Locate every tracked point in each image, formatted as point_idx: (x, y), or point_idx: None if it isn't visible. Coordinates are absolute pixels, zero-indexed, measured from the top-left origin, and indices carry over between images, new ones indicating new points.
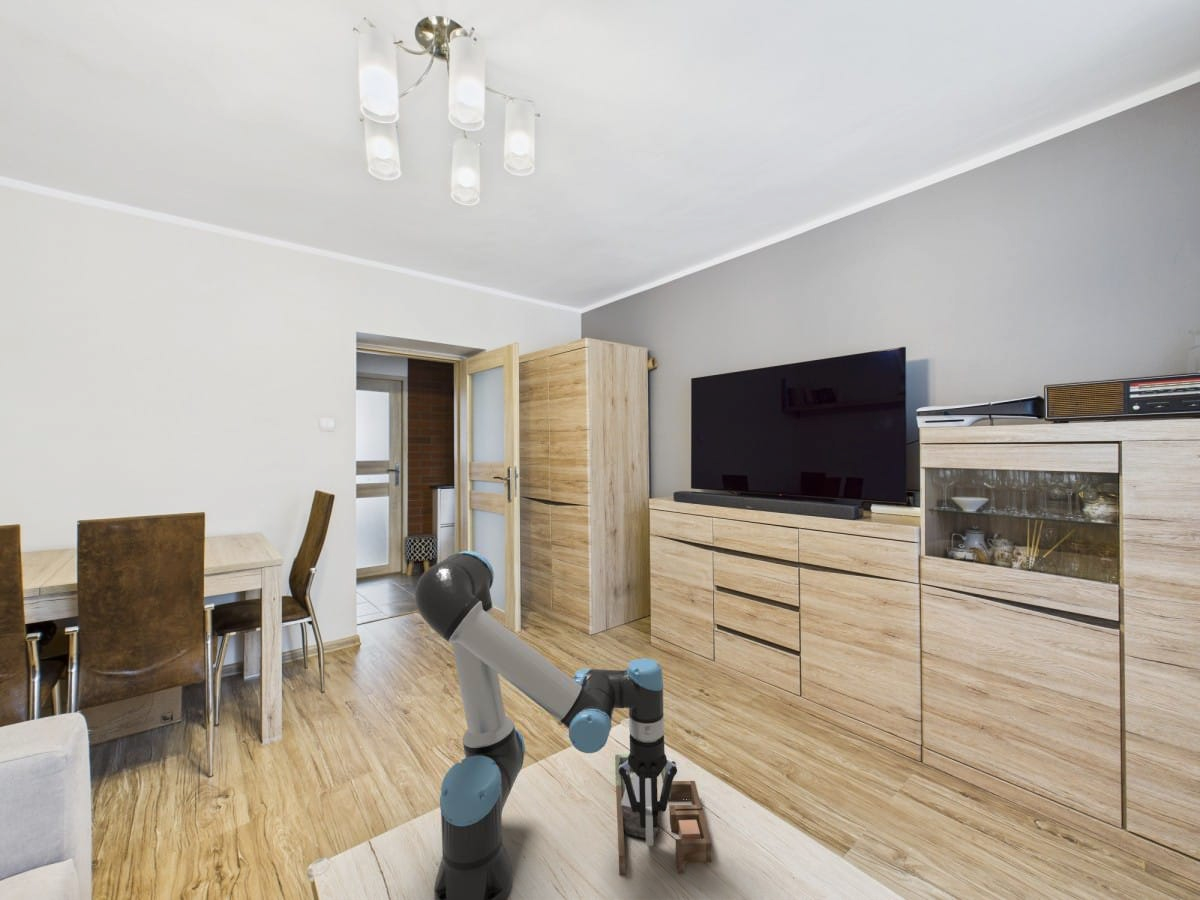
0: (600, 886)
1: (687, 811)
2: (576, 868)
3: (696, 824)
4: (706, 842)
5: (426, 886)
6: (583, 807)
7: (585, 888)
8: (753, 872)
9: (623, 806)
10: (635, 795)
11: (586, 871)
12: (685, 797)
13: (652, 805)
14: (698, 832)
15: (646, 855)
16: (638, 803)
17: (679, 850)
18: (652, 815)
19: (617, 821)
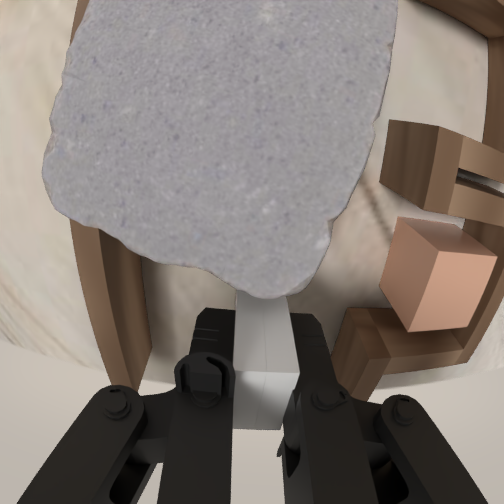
0: (91, 361)
1: (495, 204)
2: (20, 301)
3: (484, 282)
4: (457, 362)
5: None
6: (5, 34)
7: (60, 356)
8: (488, 342)
9: (64, 210)
10: (170, 75)
11: (45, 315)
12: (478, 26)
13: (286, 492)
14: (466, 321)
15: (234, 289)
16: (162, 449)
17: (356, 397)
18: (279, 428)
19: None
